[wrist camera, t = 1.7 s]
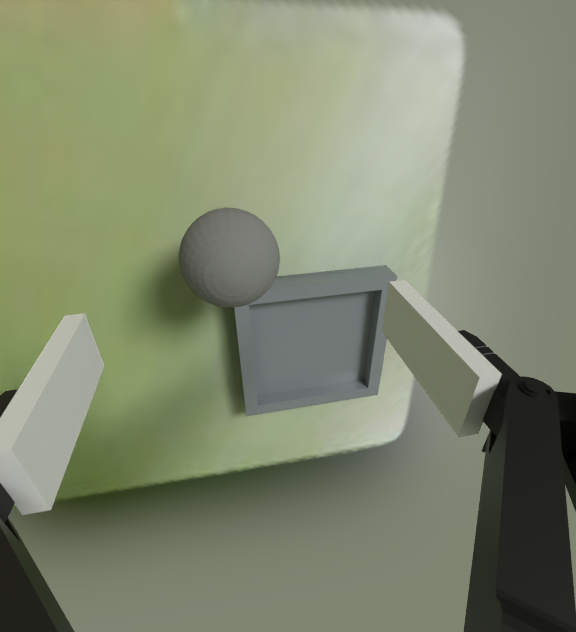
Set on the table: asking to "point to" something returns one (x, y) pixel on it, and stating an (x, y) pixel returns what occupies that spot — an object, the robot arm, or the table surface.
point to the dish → (313, 339)
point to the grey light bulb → (229, 257)
